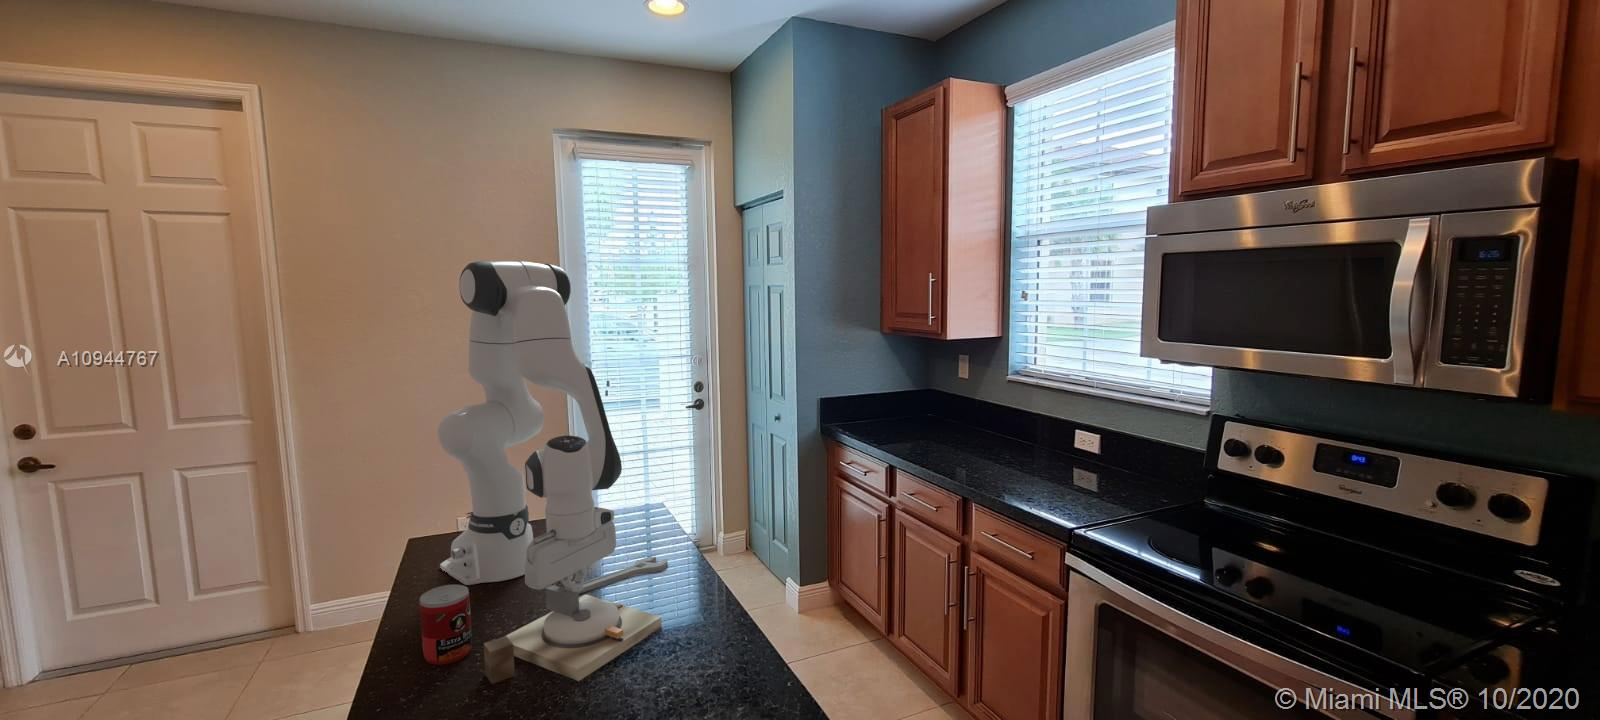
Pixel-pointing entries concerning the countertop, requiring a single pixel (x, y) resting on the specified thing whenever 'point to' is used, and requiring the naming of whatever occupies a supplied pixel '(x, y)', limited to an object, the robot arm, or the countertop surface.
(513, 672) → the block
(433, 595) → the canned food
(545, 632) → the dial
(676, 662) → the countertop surface
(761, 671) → the countertop surface
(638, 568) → the adjustable wrench
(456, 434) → the robot arm
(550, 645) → the panel
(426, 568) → the countertop surface
